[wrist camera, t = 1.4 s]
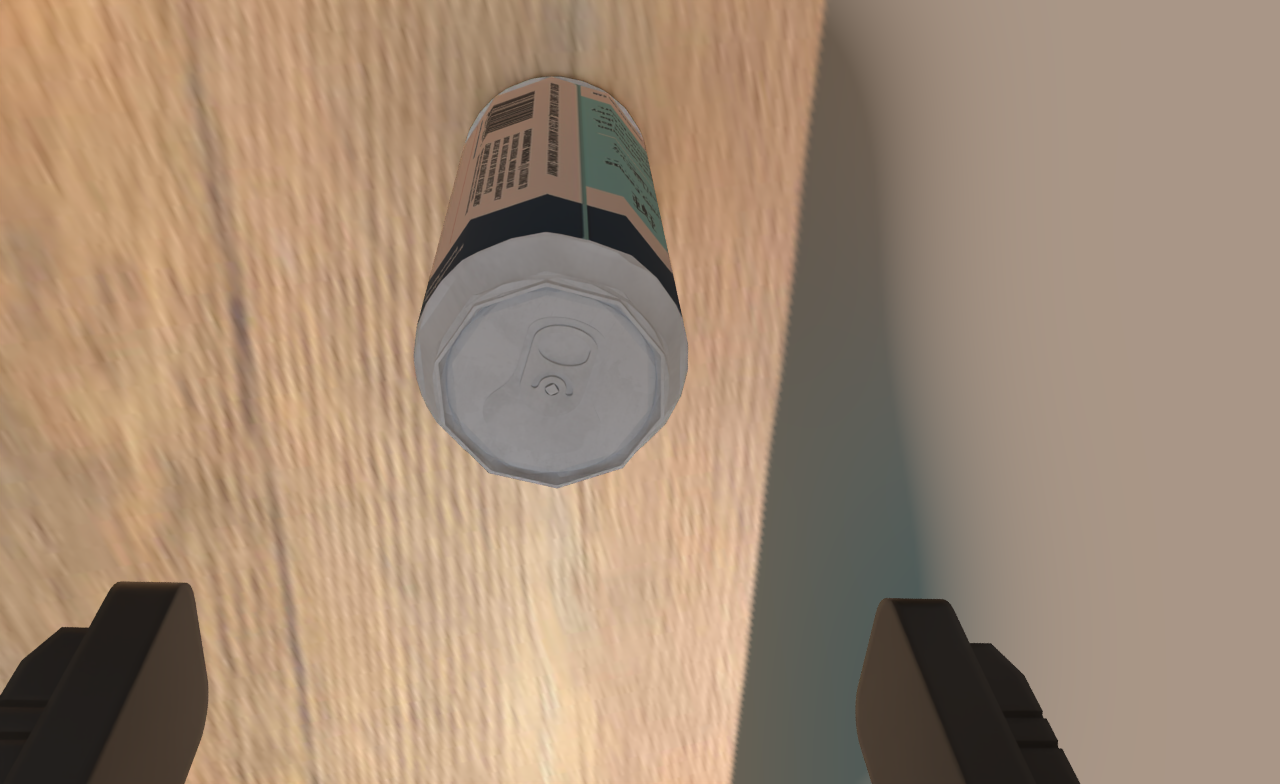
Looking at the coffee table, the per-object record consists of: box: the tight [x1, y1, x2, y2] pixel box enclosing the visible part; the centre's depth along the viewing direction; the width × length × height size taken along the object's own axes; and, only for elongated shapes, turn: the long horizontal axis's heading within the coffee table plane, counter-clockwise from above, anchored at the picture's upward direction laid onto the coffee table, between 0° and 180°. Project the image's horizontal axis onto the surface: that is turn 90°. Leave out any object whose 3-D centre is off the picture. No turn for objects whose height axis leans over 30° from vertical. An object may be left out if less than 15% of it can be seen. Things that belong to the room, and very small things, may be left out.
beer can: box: [414, 77, 688, 488], centre depth 23 cm, size 5×5×12 cm
